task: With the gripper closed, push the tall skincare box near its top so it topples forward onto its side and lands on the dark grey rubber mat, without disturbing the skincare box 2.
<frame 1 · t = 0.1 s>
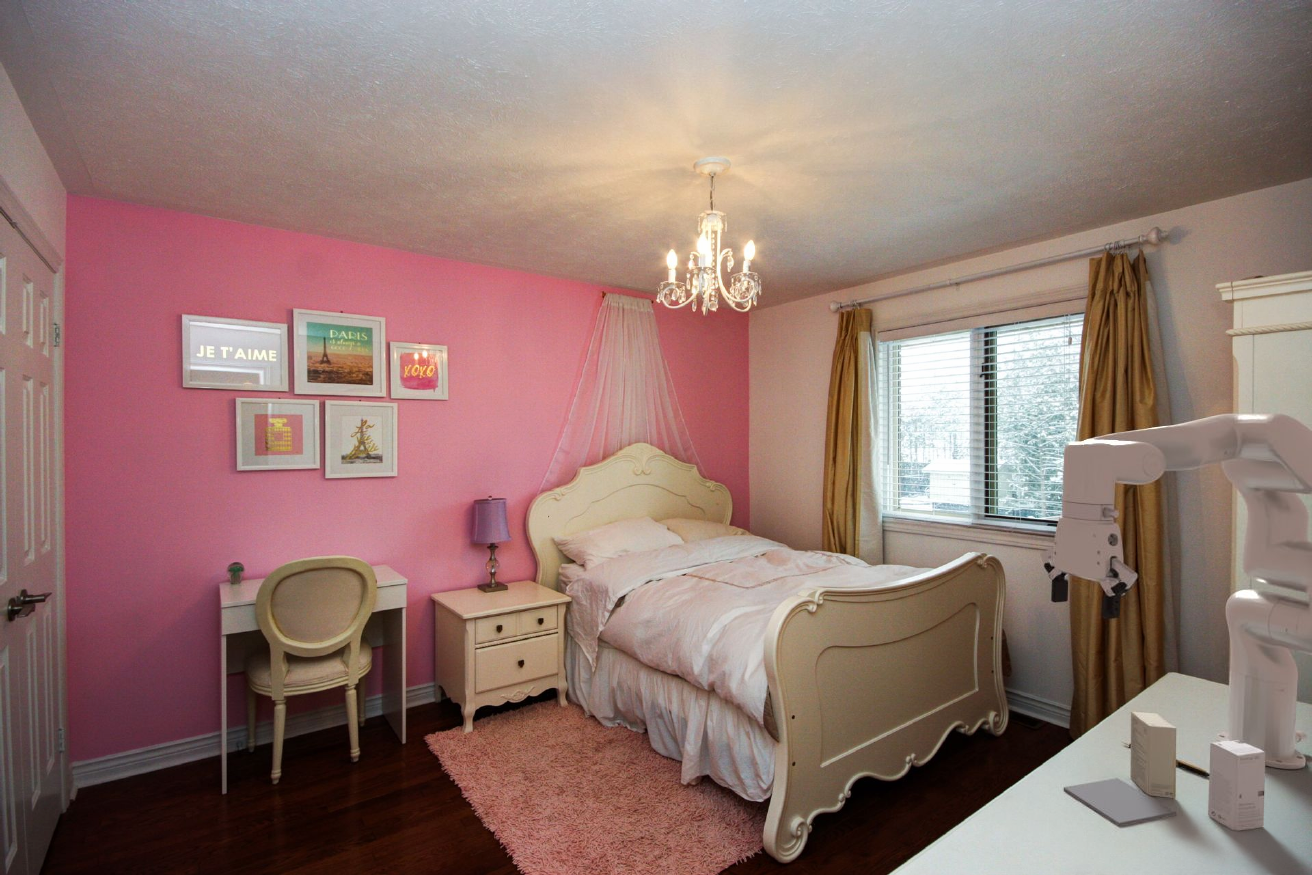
hand: (1083, 609, 112), 31 cm above the table, tool pointing down, fingers open, 9 cm apart
skincare box: (1151, 788, 112), on the table
skincare box 2: (1234, 821, 103), on the table
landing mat: (1118, 801, 107), on the table
fountain pen: (1163, 762, 121), on the table
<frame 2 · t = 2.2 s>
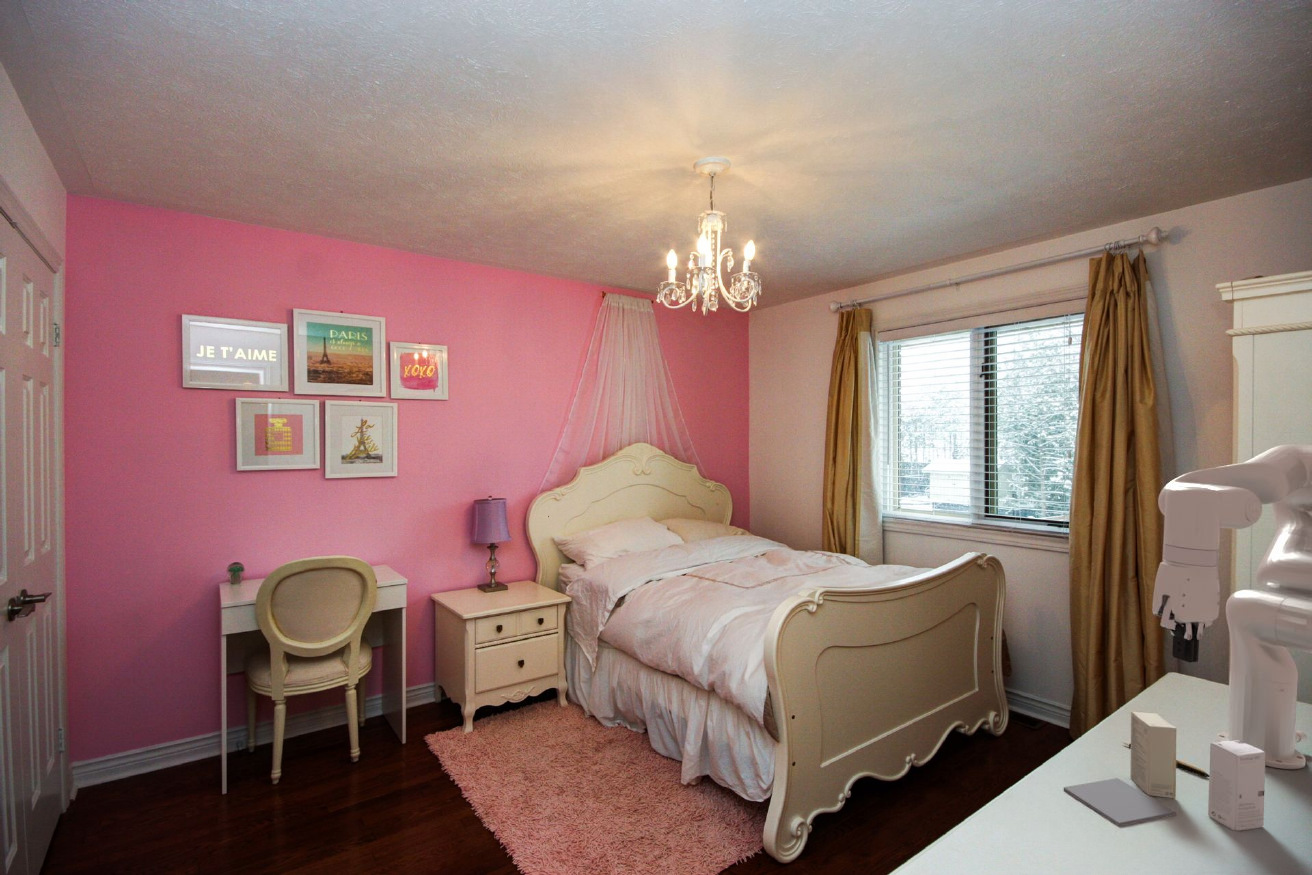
hand: (1184, 659, 113), 22 cm above the table, tool pointing down, fingers closed
nothing on the table moved.
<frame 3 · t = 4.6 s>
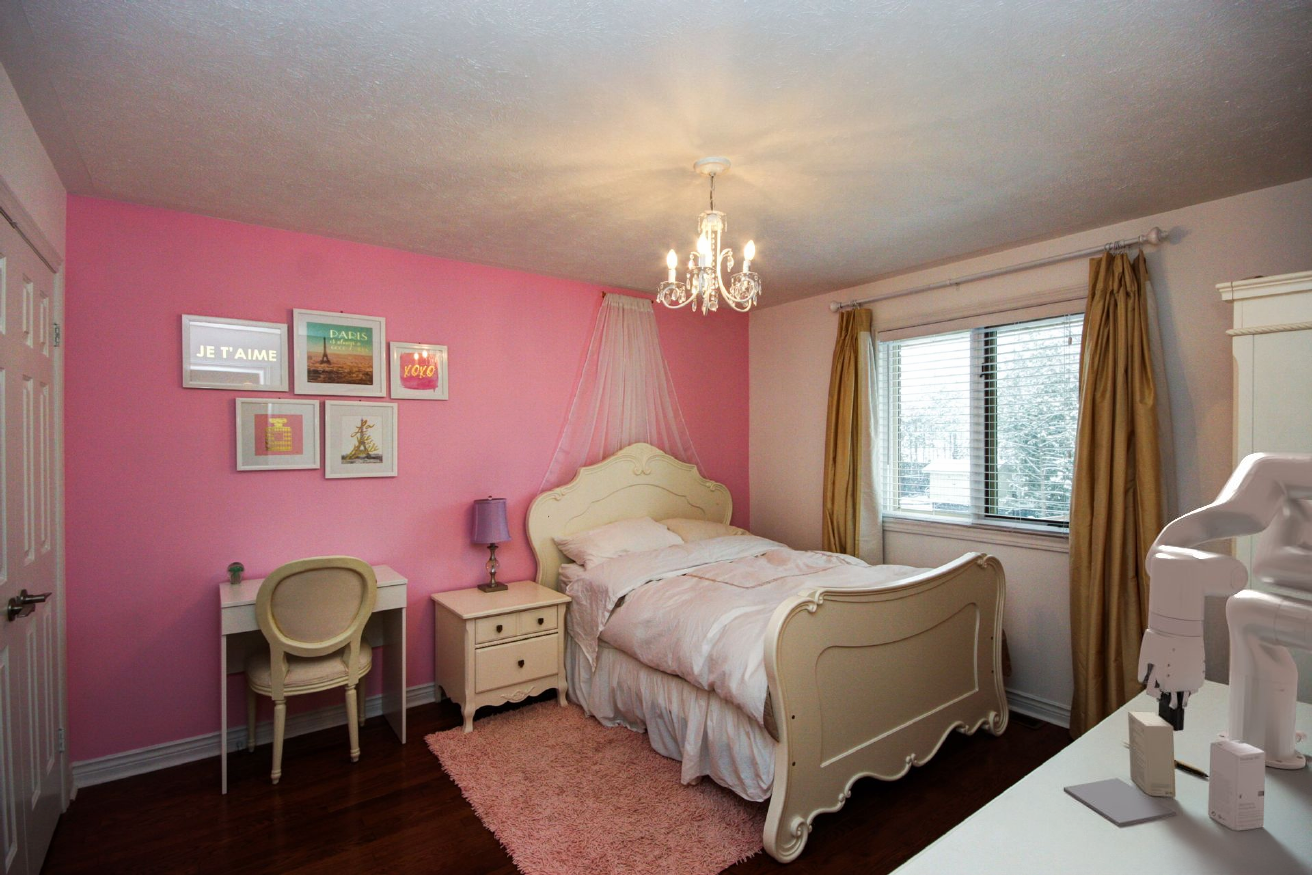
hand: (1170, 726, 112), 10 cm above the table, tool pointing down, fingers closed
skincare box: (1151, 787, 112), on the table, touching gripper
everything else where it was.
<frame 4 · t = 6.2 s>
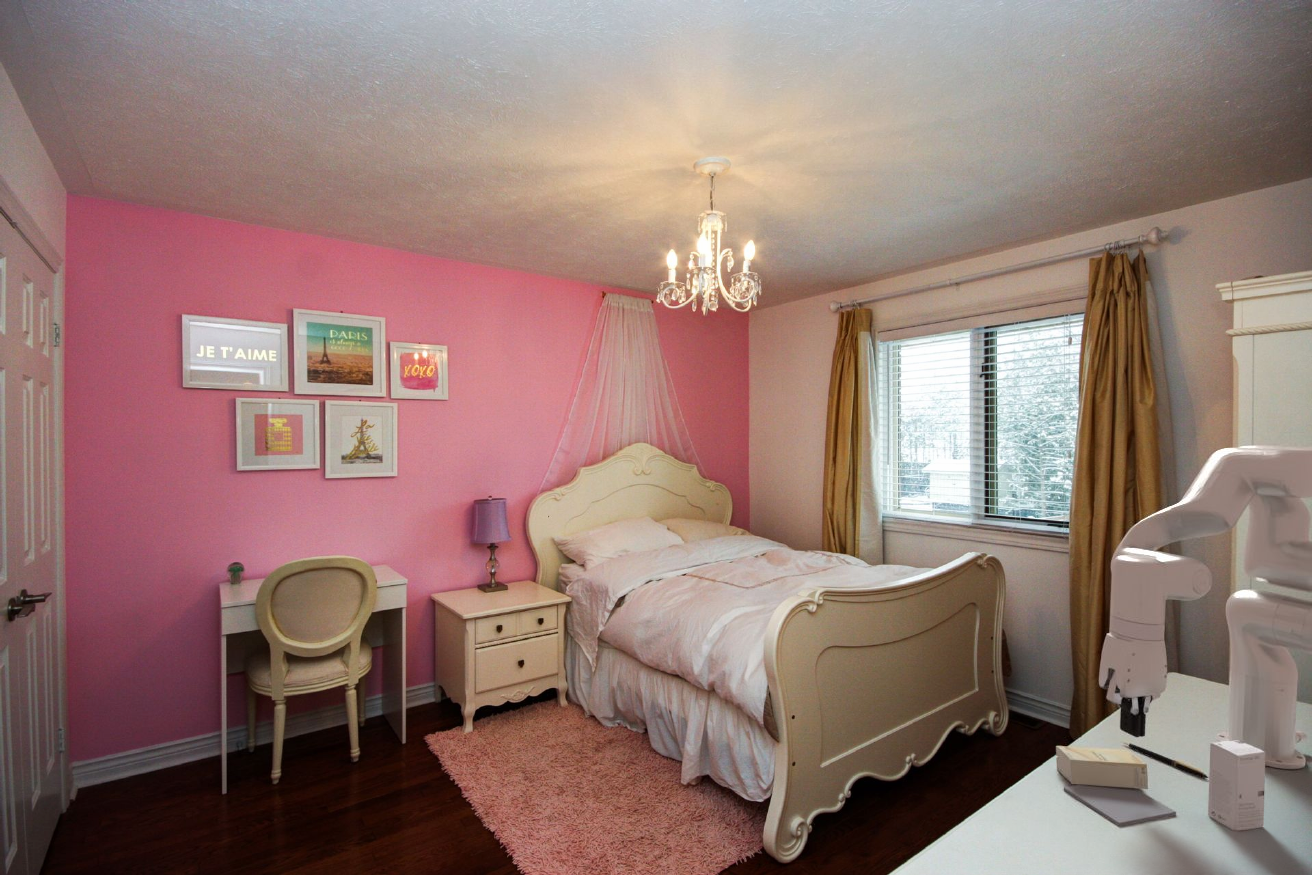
hand: (1132, 732, 110), 10 cm above the table, tool pointing down, fingers closed
skincare box: (1139, 769, 112), point 3 cm above the table, touching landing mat
everything else where it was.
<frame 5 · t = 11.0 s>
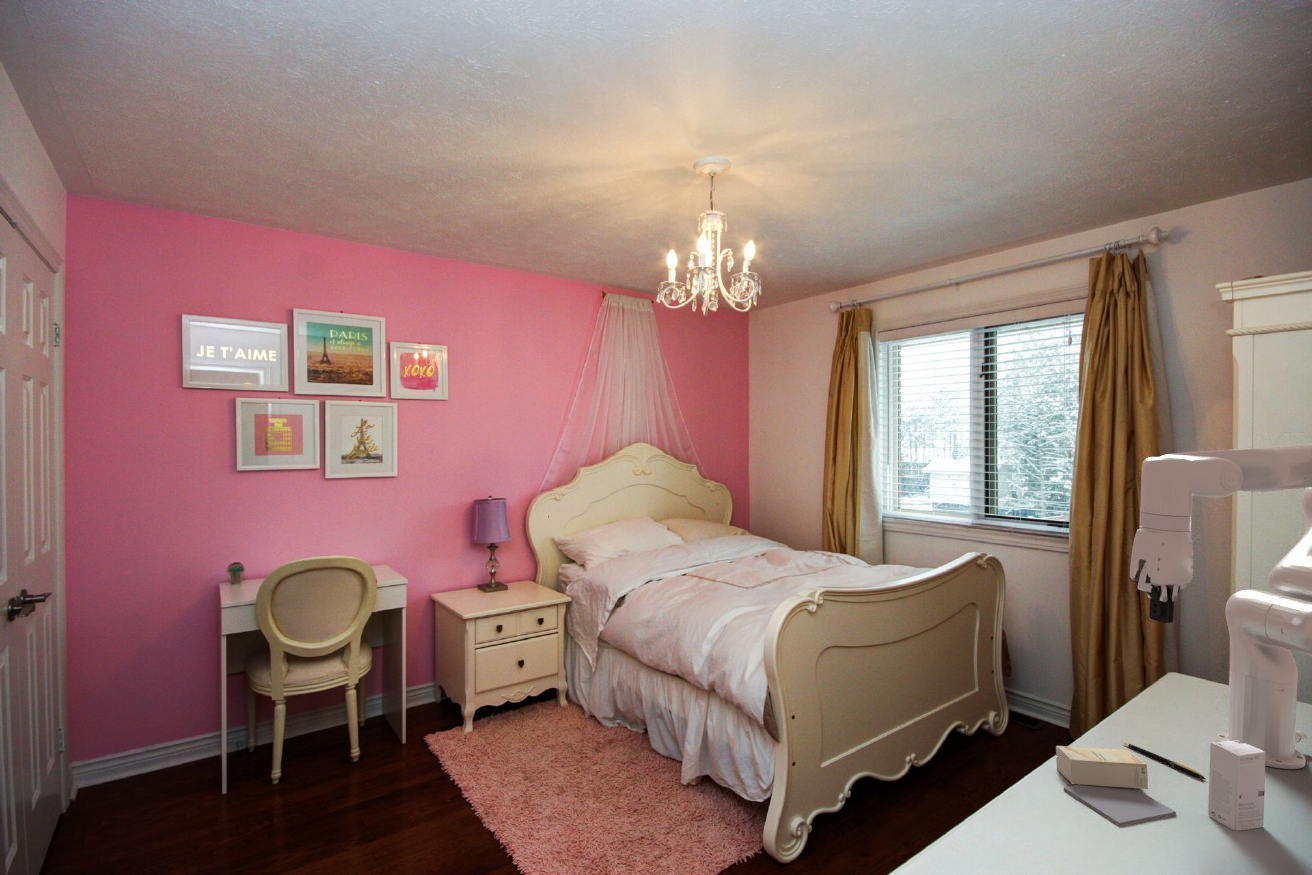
hand: (1161, 620, 119), 27 cm above the table, tool pointing down, fingers closed
nothing on the table moved.
at the end: skincare box tilted 91°; skincare box touching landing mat, table; skincare box 2 moved 0.2 cm from its start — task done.
